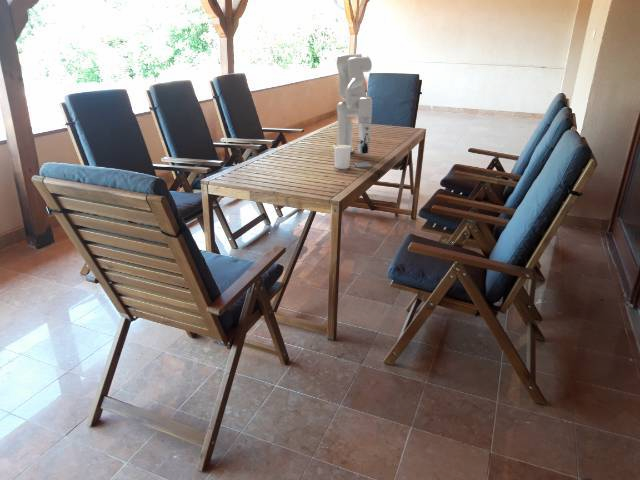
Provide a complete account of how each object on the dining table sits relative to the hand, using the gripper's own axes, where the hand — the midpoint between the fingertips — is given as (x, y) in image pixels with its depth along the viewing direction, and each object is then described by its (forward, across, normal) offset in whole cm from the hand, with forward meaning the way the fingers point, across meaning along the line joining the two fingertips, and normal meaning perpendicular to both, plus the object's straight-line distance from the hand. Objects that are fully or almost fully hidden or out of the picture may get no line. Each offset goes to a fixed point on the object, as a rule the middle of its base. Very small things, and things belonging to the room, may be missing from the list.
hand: (363, 151), depth 277 cm
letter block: (+1, 0, 0) cm, 1 cm away
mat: (+8, 0, 0) cm, 8 cm away
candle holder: (+8, -2, +13) cm, 16 cm away
